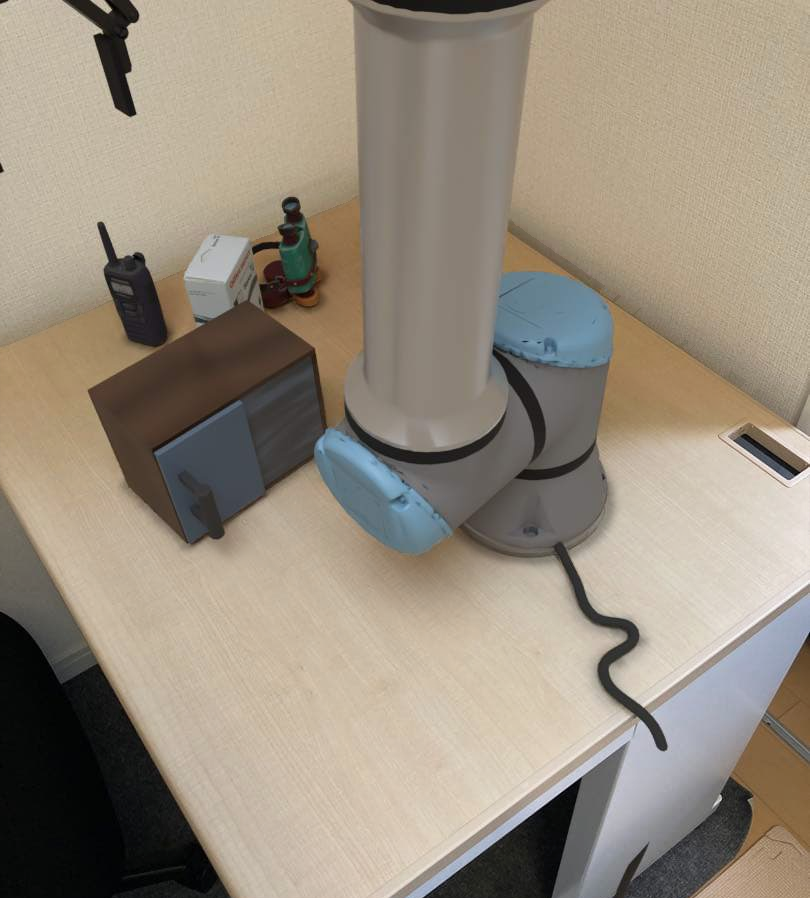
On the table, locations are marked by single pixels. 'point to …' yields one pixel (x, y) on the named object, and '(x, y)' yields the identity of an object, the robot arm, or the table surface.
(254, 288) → the ink box
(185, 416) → the cabinet
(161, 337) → the two-way radio
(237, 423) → the sliding door
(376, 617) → the table surface
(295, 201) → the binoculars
